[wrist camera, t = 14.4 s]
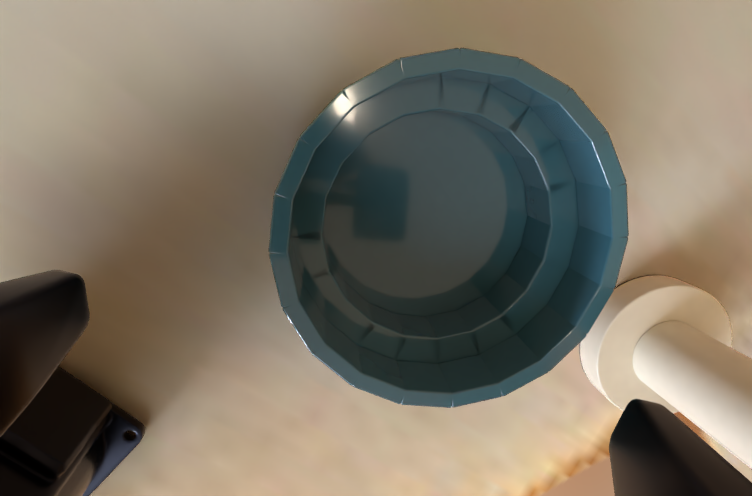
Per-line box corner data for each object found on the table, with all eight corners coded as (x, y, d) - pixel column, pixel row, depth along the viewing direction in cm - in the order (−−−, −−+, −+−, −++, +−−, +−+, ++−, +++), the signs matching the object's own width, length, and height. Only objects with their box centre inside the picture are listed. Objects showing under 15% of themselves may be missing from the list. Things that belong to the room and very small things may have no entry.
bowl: (422, 392, 22) (450, 466, 17) (221, 224, 19) (189, 257, 15) (609, 208, 21) (694, 234, 16) (425, 0, 18) (462, -44, 13)
